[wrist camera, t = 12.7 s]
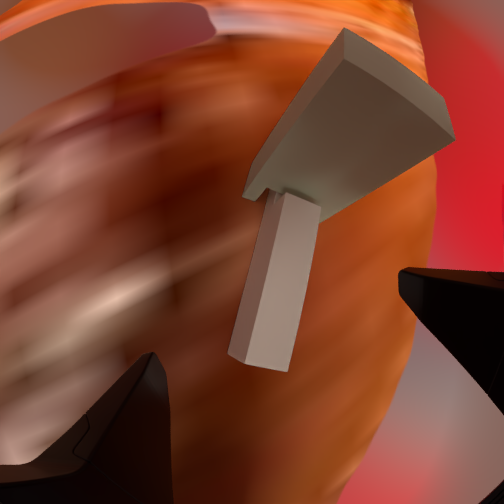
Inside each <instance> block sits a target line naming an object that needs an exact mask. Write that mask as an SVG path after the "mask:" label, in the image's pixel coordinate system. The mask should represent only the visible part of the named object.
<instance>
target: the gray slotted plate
mask: <svg viewBox="0 0 504 504" xmlns="http://www.w3.org/2000/svg"><path fill="white" fill-rule="evenodd" d="M453 141H455V135H454V131H453V128H452V124H451V120H450V117H449V114H448V110H447V107H446V104H445V100H444V98H443V97H442V96H441V95H440V94H439V93H438V92H436V91H435V90H434V89H433V88H432V87H431V86H429V85H428V84H427V83H426V82H425V81H423V80H422V79H421V78H420V77H418V76H417V75H416V74H415V73H413V72H412V71H411V70H409V69H408V68H407V67H405V66H404V65H403V64H401V63H400V62H399V61H397V60H396V59H394V58H393V57H391V56H390V55H389V54H387V53H386V52H384V51H383V50H381V49H380V48H378V47H376V46H375V45H373V44H372V43H370V42H369V41H367V40H365V39H364V38H362V37H360V36H359V35H357V34H355V33H353V32H352V31H350V30H348V29H346V28H343V30H342V31H341V32H340V34H339V35H338V36H337V38H336V39H335V40H334V42H333V43H332V44H331V46H330V47H329V49H328V50H327V51H326V53H325V54H324V56H323V57H322V58H321V60H320V61H319V63H318V64H317V65H316V67H315V68H314V70H313V71H312V73H311V74H310V75H309V77H308V78H307V80H306V81H305V83H304V84H303V86H302V87H301V89H300V90H299V91H298V93H297V94H296V96H295V97H294V99H293V100H292V102H291V103H290V105H289V106H288V108H287V109H286V111H285V112H284V114H283V115H282V117H281V118H280V120H279V121H278V123H277V125H276V126H275V128H274V129H273V131H272V132H271V134H270V135H269V137H268V138H267V140H266V142H265V143H264V145H263V146H262V148H261V149H260V151H259V153H258V154H257V156H256V157H255V159H254V161H253V162H252V165H251V168H250V171H249V174H248V178H247V181H246V184H245V188H244V191H243V194H242V197H244V198H246V199H249V200H252V201H256V200H257V199H258V197H259V196H260V195H261V194H262V193H263V191H264V190H265V189H266V188H269V189H271V190H274V191H276V192H279V193H281V194H285V193H286V192H287V193H289V194H292V195H294V196H296V197H299V198H301V199H304V200H306V201H308V202H311V203H313V204H315V205H318V206H320V207H321V213H320V219H319V223H321V222H322V221H324V220H326V219H327V218H329V217H331V216H332V215H334V214H336V213H337V212H339V211H341V210H342V209H344V208H346V207H347V206H349V205H351V204H352V203H354V202H356V201H357V200H359V199H361V198H362V197H364V196H366V195H367V194H369V193H371V192H372V191H374V190H376V189H377V188H379V187H380V186H382V185H384V184H385V183H387V182H389V181H390V180H392V179H394V178H395V177H397V176H398V175H400V174H402V173H403V172H405V171H407V170H408V169H410V168H412V167H413V166H415V165H416V164H418V163H420V162H421V161H423V160H425V159H426V158H428V157H429V156H431V155H433V154H434V153H436V152H437V151H439V150H441V149H442V148H444V147H446V146H447V145H449V144H450V143H452V142H453Z"/></svg>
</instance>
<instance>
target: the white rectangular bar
mask: <svg viewBox="0 0 504 504" xmlns="http://www.w3.org/2000/svg"><path fill="white" fill-rule="evenodd" d="M320 213H321V207H320V206H318V205H315V204H313V203H311V202H308V201H306V200H304V199H301V198H299V197H296V196H294V195H292V194H289V193H287V192H286V193H285V194H281V193H279V192H276V191H274V190H271V189H270V190H269V194H268V198H267V202H266V205H265V209H264V213H263V217H262V221H261V225H260V229H259V233H258V236H257V240H256V244H255V248H254V252H253V256H252V260H251V264H250V267H249V271H248V275H247V279H246V283H245V287H244V291H243V294H242V298H241V302H240V306H239V310H238V314H237V318H236V321H235V325H234V329H233V333H232V337H231V341H230V345H229V348H228V352H227V354H228V355H230V356H232V357H234V358H235V359H237V360H239V361H240V362H242V363H244V364H248V365H253V366H258V367H263V368H268V369H273V370H279V371H284V372H287V371H288V367H289V363H290V359H291V355H292V351H293V347H294V343H295V339H296V334H297V330H298V326H299V321H300V317H301V312H302V308H303V303H304V298H305V294H306V289H307V284H308V279H309V274H310V269H311V264H312V258H313V253H314V247H315V242H316V236H317V231H318V225H319V219H320Z"/></svg>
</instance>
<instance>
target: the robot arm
mask: <svg viewBox="0 0 504 504" xmlns="http://www.w3.org/2000/svg"><path fill="white" fill-rule="evenodd" d="M398 287H399V294H400V296H401V298H402V299H403V300H404V301H405V303H406V304H407V305H408V306H409V307H410V309H411V310H412V311H413V312H414V314H415V315H416V316H417V317H418V319H419V320H420V321H421V322H422V323H423V324H424V326H426V328H427V329H428V330H429V331H430V332H431V333H432V334H433V335H434V336H435V337H436V338H437V339H438V340H439V341H440V342H441V343H442V344H443V345H444V346H445V348H446V349H448V351H449V352H450V353H451V354H452V355H453V356H454V357H455V358H456V359H457V361H458V362H459V363H460V364H461V365H462V366H463V367H464V368H465V369H466V371H467V372H468V373H469V374H470V375H471V376H472V377H473V379H474V380H475V381H476V382H477V383H478V384H479V385H480V387H481V388H482V389H483V390H484V391H485V393H486V394H488V396H489V398H490V399H491V400H492V401H493V403H494V404H495V405H496V406H497V407H498V409H499V410H500V411H501V412H502V414H503V415H504V272H485V271H466V270H449V269H431V268H414V267H407V268H404V269H402V270H400V271H399V273H398ZM0 504H173V490H172V472H171V434H170V405H169V396H168V387H167V377H166V372H165V370H164V368H163V366H162V364H161V362H160V361H159V359H158V357H157V355H156V354H155V353H154V352H149V353H145V354H143V355H141V356H140V357H139V359H138V360H137V361H136V362H135V363H134V364H133V365H132V366H131V367H130V368H129V369H128V370H127V371H126V372H125V373H124V374H123V375H122V376H121V377H120V378H119V379H118V380H117V381H116V382H115V383H114V384H113V385H112V386H111V387H110V388H109V389H108V390H107V391H106V392H105V393H104V394H103V395H102V396H101V397H100V398H99V399H98V401H97V402H96V403H95V404H94V405H93V406H92V407H91V408H90V409H89V410H88V411H87V412H86V414H84V415H83V416H82V417H81V418H80V419H79V420H78V421H77V422H76V423H75V424H74V425H73V426H72V427H71V428H70V429H69V430H68V431H67V432H66V433H64V434H63V435H62V436H61V437H60V438H59V439H58V440H57V441H56V442H54V443H53V444H52V445H51V446H50V447H49V448H47V449H46V450H45V451H44V452H43V453H42V454H41V455H39V456H38V457H37V458H36V459H34V460H33V461H31V462H29V463H26V464H21V465H0ZM479 504H504V480H503V481H502V482H501V483H500V484H499V485H498V486H497V487H496V488H495V489H494V490H493V491H492V492H491V493H489V495H487V496H486V497H485V498H484V499H483V500H482V501H481V502H479Z"/></svg>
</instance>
